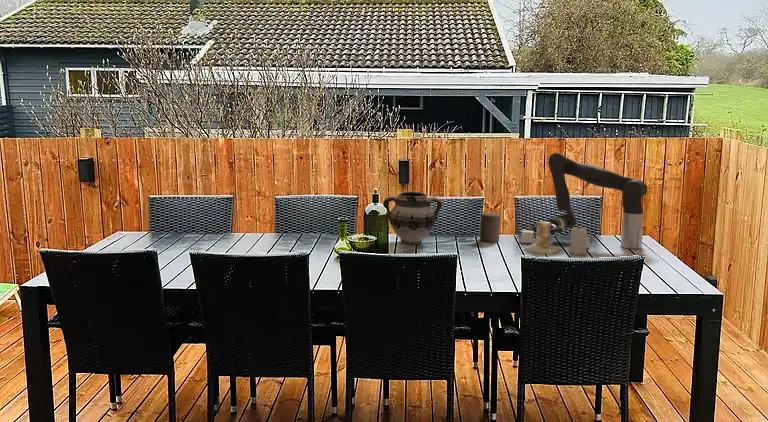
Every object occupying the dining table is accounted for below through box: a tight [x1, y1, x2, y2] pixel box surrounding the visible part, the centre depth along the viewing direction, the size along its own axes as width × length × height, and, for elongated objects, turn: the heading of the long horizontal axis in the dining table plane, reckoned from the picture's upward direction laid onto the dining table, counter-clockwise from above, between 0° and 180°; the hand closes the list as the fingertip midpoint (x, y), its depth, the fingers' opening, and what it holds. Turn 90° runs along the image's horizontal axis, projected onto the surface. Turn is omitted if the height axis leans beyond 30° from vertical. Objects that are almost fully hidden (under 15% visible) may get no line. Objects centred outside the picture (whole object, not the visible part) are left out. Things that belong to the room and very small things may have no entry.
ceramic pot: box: [382, 190, 443, 246], centre depth 337 cm, size 29×23×25 cm
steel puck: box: [586, 236, 590, 250], centre depth 334 cm, size 6×6×5 cm
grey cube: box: [520, 229, 534, 244], centre depth 348 cm, size 6×6×6 cm
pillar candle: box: [479, 211, 501, 244], centre depth 347 cm, size 10×10×15 cm
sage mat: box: [524, 242, 562, 255], centre depth 328 cm, size 13×13×2 cm
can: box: [569, 227, 588, 256], centre depth 321 cm, size 8×8×12 cm
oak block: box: [535, 220, 551, 249], centre depth 327 cm, size 5×5×12 cm
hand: (542, 230), depth 325 cm, fingers open, 8 cm apart
